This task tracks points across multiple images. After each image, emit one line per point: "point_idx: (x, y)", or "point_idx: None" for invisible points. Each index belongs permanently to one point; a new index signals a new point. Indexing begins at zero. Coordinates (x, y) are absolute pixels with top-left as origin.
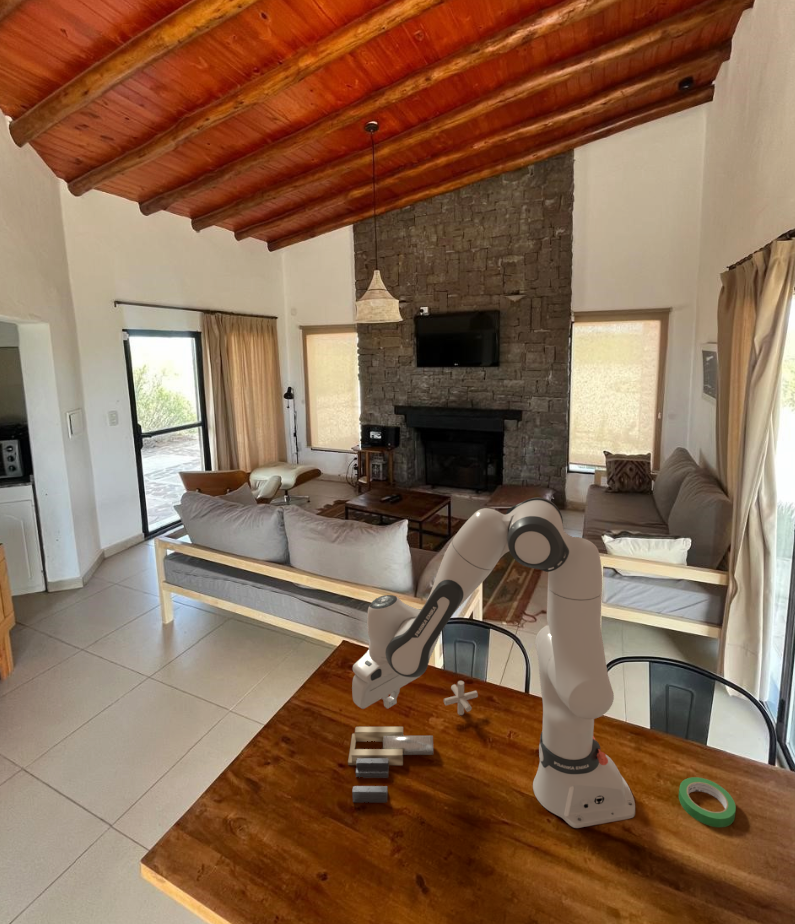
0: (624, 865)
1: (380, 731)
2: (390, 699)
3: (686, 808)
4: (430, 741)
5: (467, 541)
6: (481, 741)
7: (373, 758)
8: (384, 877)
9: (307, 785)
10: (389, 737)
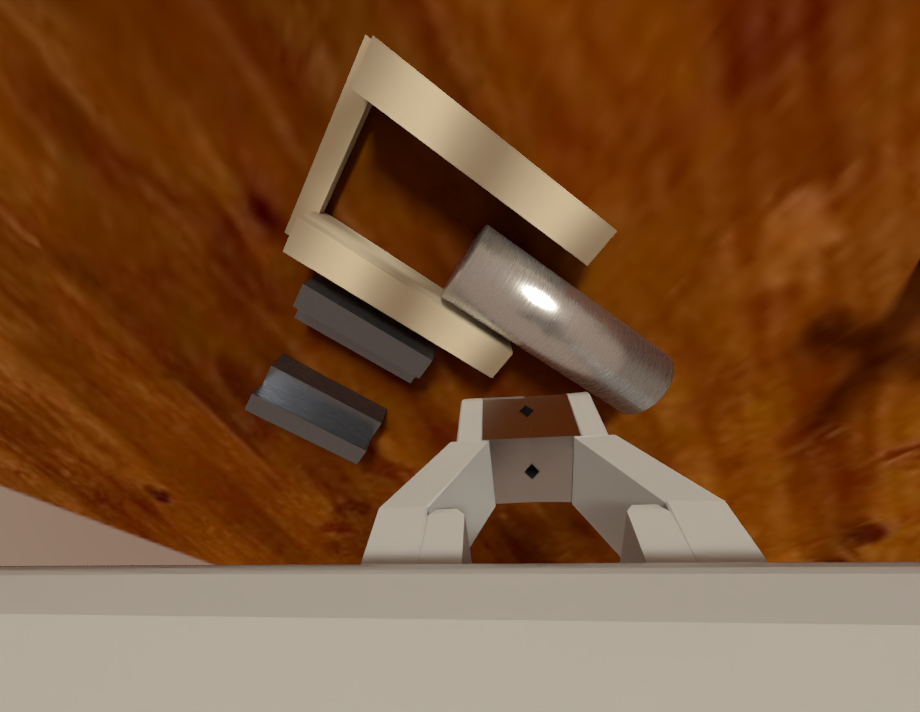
0: None
1: (490, 186)
2: (531, 479)
3: None
4: (632, 406)
5: None
6: (801, 423)
7: (373, 326)
8: (291, 550)
9: (105, 229)
10: (492, 286)
